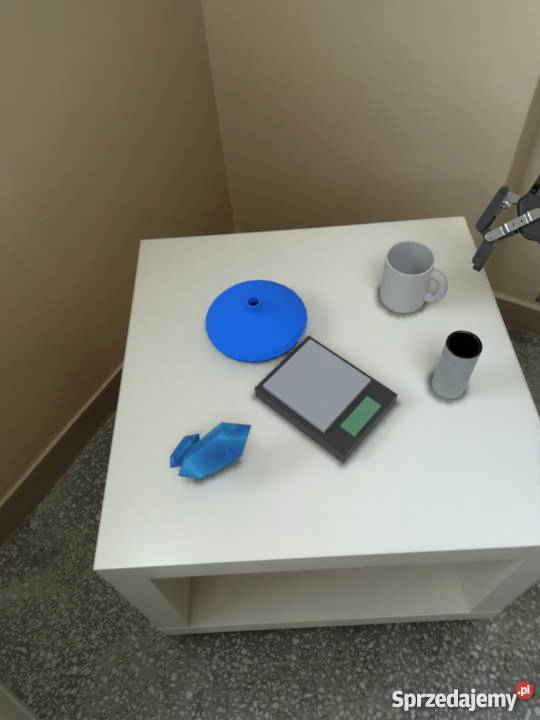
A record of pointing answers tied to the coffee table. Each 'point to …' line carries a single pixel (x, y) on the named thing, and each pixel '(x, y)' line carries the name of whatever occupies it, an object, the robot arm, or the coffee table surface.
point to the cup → (410, 277)
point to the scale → (326, 397)
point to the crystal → (210, 450)
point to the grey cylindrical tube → (456, 364)
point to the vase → (256, 321)
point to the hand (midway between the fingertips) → (506, 286)
